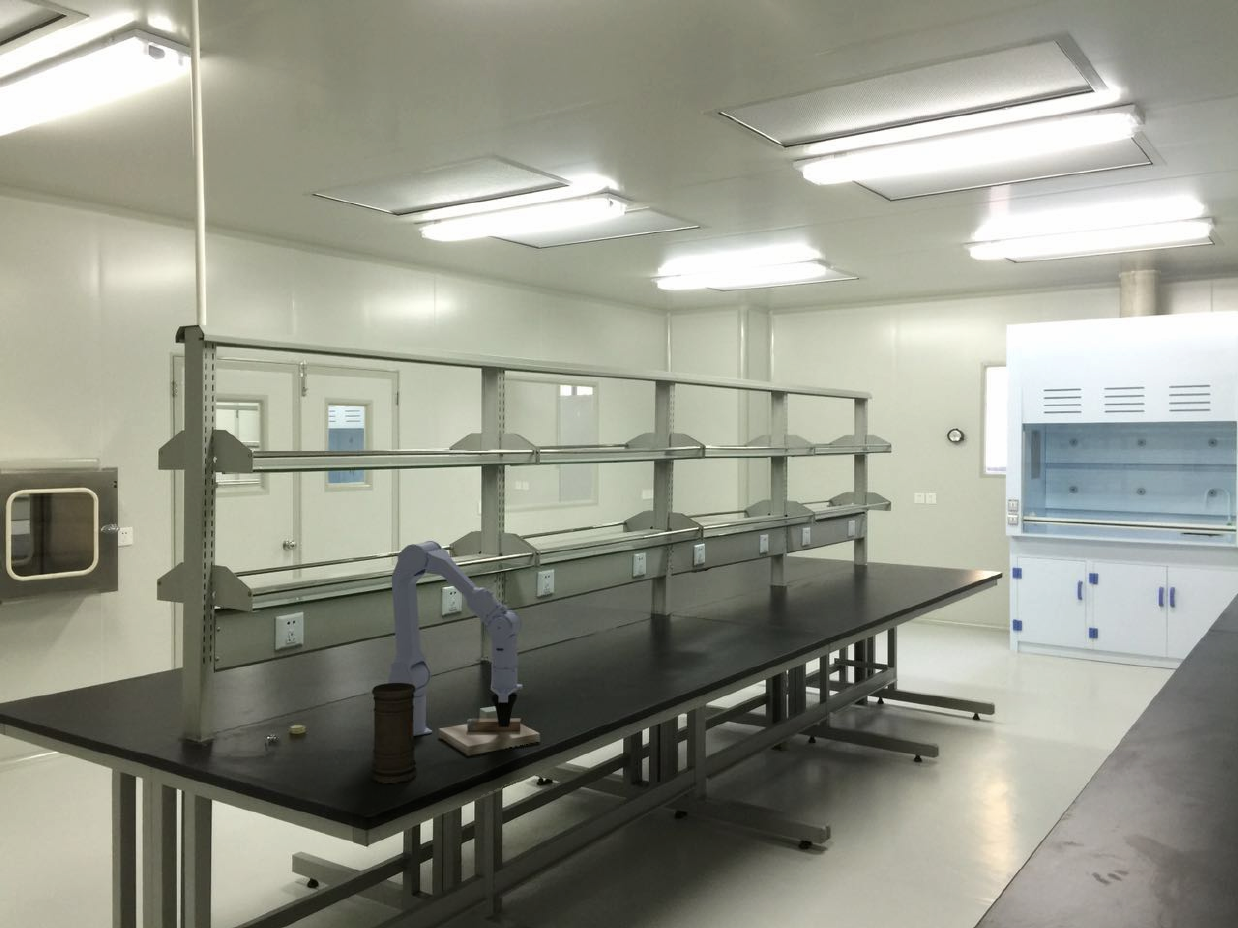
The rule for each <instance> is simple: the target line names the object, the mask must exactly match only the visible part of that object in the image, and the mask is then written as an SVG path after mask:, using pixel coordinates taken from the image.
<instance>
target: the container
mask: <svg viewBox="0 0 1238 928" xmlns="http://www.w3.org/2000/svg"><path fill="white" fill-rule="evenodd" d="M415 691H416V689H415V686H414V685H412V684H408V683H383V684H382V683H381V684H379V685H376V686H374V687H373V688H372V690H371V693H372V694H371V695H373V700H374V708H373V711H374V715H373V716H374V718H373V721H374V737H373V738H374V745H373V746H374V747H373V751H372V752H373V762H372V766H371V768H372V770H371V774H370V775H371V778H372V780H373V781H374V780H375V782H376V781H378V782H377V783H380V782H382V783H381V784H387V783H393V784H398V783H397V782H401V783H403V782H402V781H405V782H408V781H410V780H413V779H414V778H415V777H416V775H417V767H416V765H417V762H416V760H415V746H414V736H413V709H414V706H413V699H414V693H415Z"/></svg>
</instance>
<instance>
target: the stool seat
mask: <svg viewBox="0 0 1238 928" xmlns="http://www.w3.org/2000/svg"><path fill="white" fill-rule="evenodd" d="M510 719H512V718H510ZM438 738H439V739H441V740H442V739H443V741H444V742H445V741H446V742H445V743H448V744H449V745H451V746H452V747H453V748H455V749H457V750H459V751H460V752H462V753H464V755H466V756H474V755H478V754H485V753H489V752H490V753H491V752H494V751H500V749H501V750H506V748H507V749H510V748H509V747H512V748H516V747H515V746H517V747H521V746H520V745H523V746H527V745H526V744H528V745H530V744H529V743H534V744H536V743H535V742H539V743H540V742H541V733H539V732H538V731H536V730H534V729H532V728H530V727H528V726H526V725H524V724H522V723H521V728H520V730H506V731H469V730H467V723H465V724H460V725H459V724H458V725H453V726H447V727H441V728H440V727H439V728H438ZM524 744H525V745H524Z"/></svg>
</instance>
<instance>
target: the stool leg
mask: <svg viewBox="0 0 1238 928" xmlns="http://www.w3.org/2000/svg"><path fill="white" fill-rule="evenodd" d="M521 719H522V718H521V717H520V718H518V717H517V718H514V717H513V718H511V719H510V723H509V727H499V723H498V719H480V718H469V719H467V721H466V724H467V730H469V731H506V730H520V728H521V724H522V723H521Z"/></svg>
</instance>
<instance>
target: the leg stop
mask: <svg viewBox="0 0 1238 928" xmlns="http://www.w3.org/2000/svg"><path fill="white" fill-rule="evenodd" d="M479 719H498V717H497V711H496V708H495V705H494V706H488V707H482V708H479Z"/></svg>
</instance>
